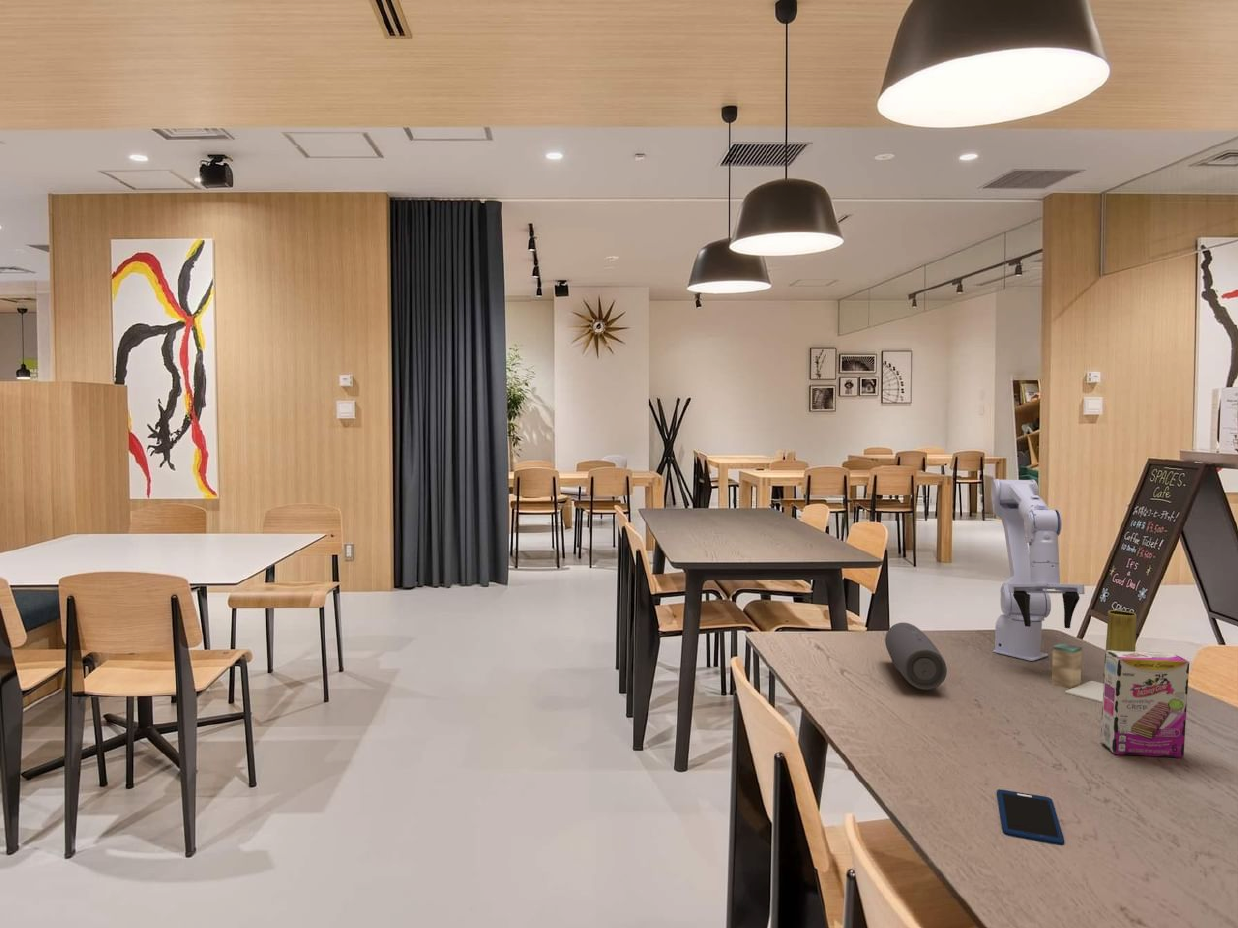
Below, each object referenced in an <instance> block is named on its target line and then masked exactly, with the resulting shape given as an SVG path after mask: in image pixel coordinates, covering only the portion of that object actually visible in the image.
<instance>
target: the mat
mask: <svg viewBox="0 0 1238 928" xmlns="http://www.w3.org/2000/svg"><path fill="white" fill-rule="evenodd" d="M1103 687H1104V682H1099V681H1097V680H1096V681H1095V680H1090V681H1087V682H1085V683H1082V684H1080V685H1079V686H1077V687H1075V688H1072V689H1071V688H1069V689H1067V690H1065V691H1064V693H1065V694H1068V695H1071V696H1076V697H1079V698H1084V699H1087V700H1090V701H1093V702H1099V703H1102V704H1103Z"/></svg>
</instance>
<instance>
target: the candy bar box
mask: <svg viewBox="0 0 1238 928" xmlns="http://www.w3.org/2000/svg"><path fill="white" fill-rule="evenodd" d="M1105 652H1106V653H1104V665H1105V670H1104V669H1103V672H1104V675H1103V683H1104V687H1103V703H1102V707H1101V708H1102V710H1101V725H1100V727H1101V728H1100V744H1101V745H1102V746H1104V747H1105V748H1106V750H1108V751H1109V752H1110V753H1112V754H1114V755H1128V756H1143V757H1144V756H1145V757H1146V756H1147V757H1163V758H1164V757H1165V758H1184V753H1185V752H1184V751H1185V740H1186V739H1185V738H1186V736H1185V735H1186V723H1187V722H1186V720H1187V706H1188V694H1189V693H1188V690H1189V688H1188V687H1189V677H1190V676H1189V673H1190V661H1189V660H1187V659H1186V658H1183V657H1181V656H1179V655H1177V654H1175V653H1172V652H1170V653H1169V652H1151V651H1150V652H1149V651H1146V652H1144V651H1136V652H1132V651H1110V650H1108V651H1106V650H1105Z"/></svg>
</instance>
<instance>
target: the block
mask: <svg viewBox="0 0 1238 928" xmlns="http://www.w3.org/2000/svg"><path fill="white" fill-rule="evenodd" d="M1082 649H1083V647H1080V646H1077V645H1071V644H1067V643H1064V642H1063V643H1059V644H1055V645H1053V646H1052V659H1051V660H1052V665H1051V684H1052V685H1055V686H1056V685H1057V686H1060V687H1062V688H1068V689H1072V688H1075V687H1077V686H1080V685H1082V684H1081V683H1082V682H1081V680H1082V679H1081V677H1082V655H1083V653H1082V651H1083V650H1082Z"/></svg>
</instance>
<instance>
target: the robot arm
mask: <svg viewBox="0 0 1238 928" xmlns="http://www.w3.org/2000/svg"><path fill="white" fill-rule="evenodd" d="M990 491H991V492H990V494H991V495H990V497H991V505H992V510H993V515H995V516H996V517H998V518H999V519H1001V523H1002V528H1003V532H1004V537H1005V538H1004V539H1005V545H1006V552H1007V560H1008V564H1009V572H1010V578H1008V579H1007V580H1006V581H1004V582H1003V583H1002V586H1001V587H1000V610H1001V612H1002V613H1003V614H1000V615H999V616H998V618H997V619H996V623H995V629H994V630H995V631H994V633H995V634H994V635H995V636H994V649H993V650H992V652H993V653H997V654H1001V655H1005V656H1009V657H1013V658H1017V659H1021V660H1025V661H1029V662H1034V661H1036V660H1040V659H1042V658H1046V657H1048V656H1049V653H1046V652H1043V651H1042V631H1043V630H1042V627H1043V626H1042V625H1043V624H1042V623H1043V622H1045V618H1047V617H1049V616H1050V614H1051V611H1052V609H1051V608H1052V600H1051V596H1050V594H1062V602H1063V603H1062V604H1063V625H1064V626H1063V627H1064V629H1071V624H1072V619H1073V614H1074V612H1075V610H1076V609H1075V608H1077V607H1076V606H1077V605H1078V602H1079V601H1080V599H1081V598H1080V595H1085V585H1084V584H1079V583H1078V584H1077V583H1076V584H1075V583H1074V584H1073V583H1061V572H1060V570H1061V568H1060V552H1059V548H1060V547H1059V535H1060V534H1061V533H1062V532H1061V531H1062V525H1063V524H1062V516H1061V512H1060V510H1059V509H1055V508H1054V509H1050V508H1049V506H1048V505H1047V503H1046V502H1045V501H1044V499H1042V498H1041V497H1040V496H1039V485H1038V482H1036V480H1035V479H999V478H994V480H993V481H992V483H991V489H990Z"/></svg>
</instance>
